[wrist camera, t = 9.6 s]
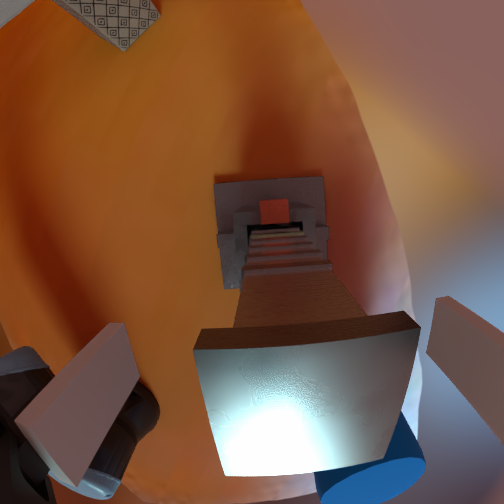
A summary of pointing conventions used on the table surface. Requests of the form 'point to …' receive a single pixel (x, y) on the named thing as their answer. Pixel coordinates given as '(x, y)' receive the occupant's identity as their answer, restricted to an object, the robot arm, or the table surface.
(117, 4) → the lamp
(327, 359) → the column
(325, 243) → the stand base
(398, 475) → the thermos
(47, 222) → the table surface
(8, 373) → the robot arm
